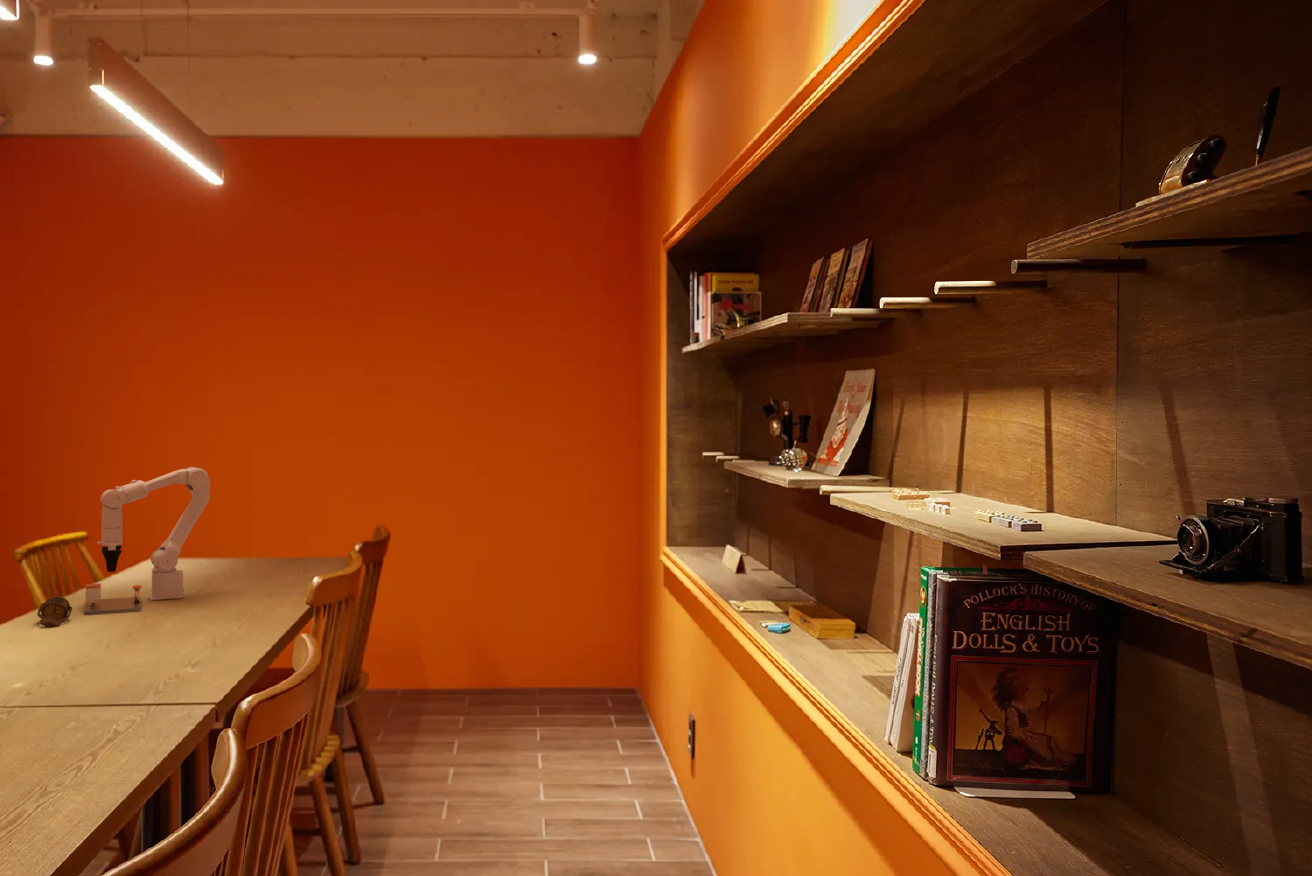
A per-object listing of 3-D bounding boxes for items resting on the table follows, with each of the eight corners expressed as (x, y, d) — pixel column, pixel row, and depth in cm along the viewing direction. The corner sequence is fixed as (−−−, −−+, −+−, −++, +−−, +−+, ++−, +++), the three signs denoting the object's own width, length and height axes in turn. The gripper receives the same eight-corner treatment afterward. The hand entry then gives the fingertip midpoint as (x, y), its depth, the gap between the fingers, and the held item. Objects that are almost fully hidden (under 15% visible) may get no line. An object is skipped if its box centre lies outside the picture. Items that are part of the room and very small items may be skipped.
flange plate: (141, 599, 314) (141, 580, 313) (142, 611, 296) (142, 591, 296) (86, 603, 306) (86, 583, 306) (84, 615, 289) (84, 594, 289)
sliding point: (100, 602, 301) (100, 583, 301) (100, 604, 298) (100, 585, 297) (85, 603, 299) (85, 584, 299) (85, 605, 296) (85, 586, 296)
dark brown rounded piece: (86, 600, 285) (52, 592, 284) (62, 604, 272) (26, 596, 272) (79, 624, 284) (45, 616, 284) (54, 629, 271) (19, 621, 271)
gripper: (97, 525, 312) (96, 567, 312) (97, 530, 299) (96, 574, 300) (122, 524, 315) (121, 566, 316) (123, 529, 303) (122, 572, 303)
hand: (111, 570), depth 308 cm, fingers open, 7 cm apart
